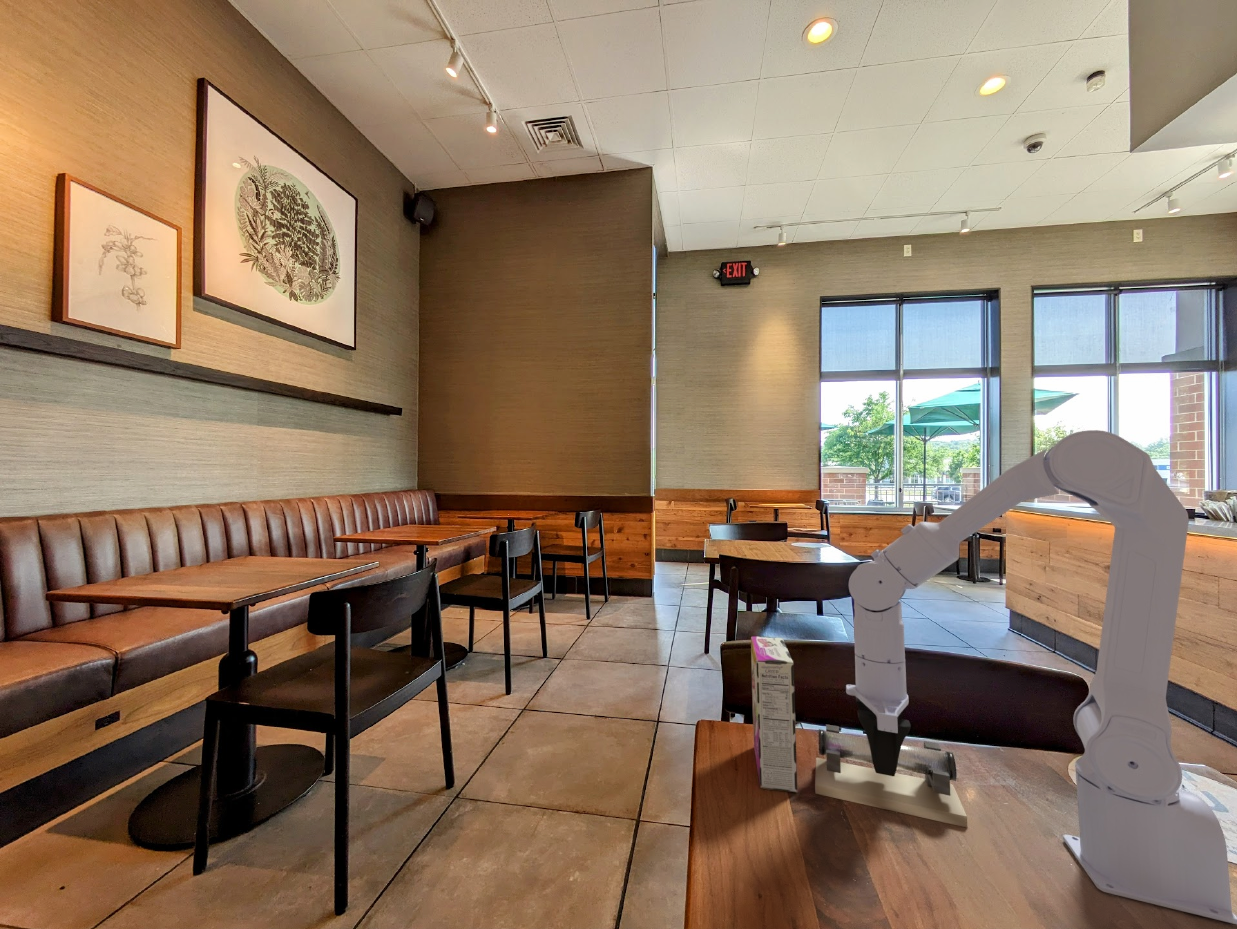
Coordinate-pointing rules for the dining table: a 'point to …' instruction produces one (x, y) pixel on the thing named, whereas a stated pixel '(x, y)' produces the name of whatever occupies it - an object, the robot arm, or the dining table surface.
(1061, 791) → the dining table surface
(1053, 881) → the dining table surface
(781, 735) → the candy bar box
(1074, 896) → the dining table surface
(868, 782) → the rack
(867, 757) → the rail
